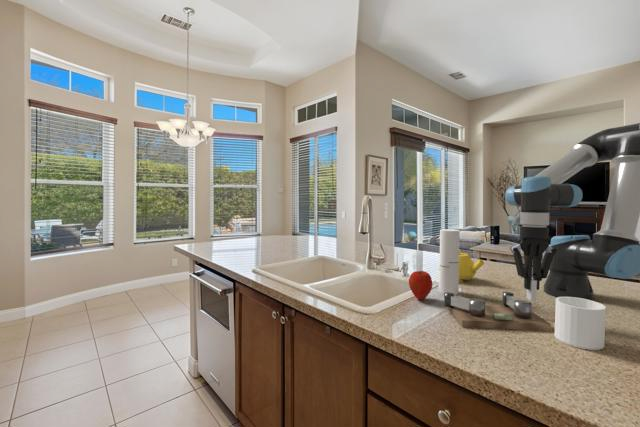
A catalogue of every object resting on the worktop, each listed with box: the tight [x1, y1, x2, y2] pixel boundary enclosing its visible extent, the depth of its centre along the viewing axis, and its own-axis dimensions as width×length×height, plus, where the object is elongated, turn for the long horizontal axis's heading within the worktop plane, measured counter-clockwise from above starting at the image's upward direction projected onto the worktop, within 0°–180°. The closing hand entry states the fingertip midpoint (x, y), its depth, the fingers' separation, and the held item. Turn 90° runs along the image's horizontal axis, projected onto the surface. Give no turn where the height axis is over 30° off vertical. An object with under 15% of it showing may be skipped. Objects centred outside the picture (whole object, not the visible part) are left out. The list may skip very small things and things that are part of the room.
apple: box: [408, 270, 433, 301], centre depth 114 cm, size 9×8×11 cm
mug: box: [554, 296, 607, 351], centre depth 81 cm, size 13×10×10 cm
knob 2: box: [502, 291, 533, 318], centre depth 96 cm, size 13×4×4 cm, turn 173°
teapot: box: [438, 249, 485, 284], centre depth 139 cm, size 20×16×14 cm
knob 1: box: [443, 292, 487, 317], centre depth 97 cm, size 13×4×4 cm, turn 39°
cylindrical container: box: [438, 228, 461, 296], centre depth 122 cm, size 7×7×25 cm
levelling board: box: [447, 304, 552, 332], centre depth 95 cm, size 24×14×4 cm, turn 83°
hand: (531, 299), depth 97 cm, fingers closed
